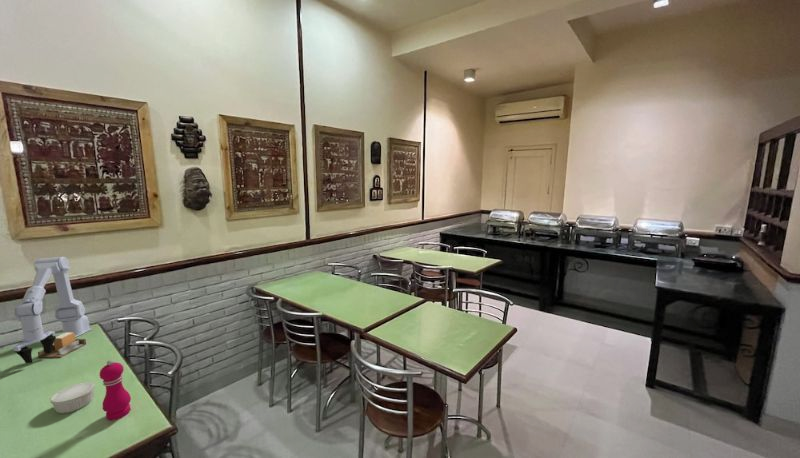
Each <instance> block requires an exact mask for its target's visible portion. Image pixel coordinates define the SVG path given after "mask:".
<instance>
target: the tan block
mask: <svg viewBox="0 0 800 458" xmlns="http://www.w3.org/2000/svg"><path fill="white" fill-rule="evenodd" d="M76 339H77V337H75V333H73V332H66V333H64V332H63V333H61V334H59V335H56V339H55V340H54V342H53V345H54V346H55V351H58V350H59V349H61V348H63V347H65V346H67V345H69V344H71V343H73V342H75V341H76Z"/></svg>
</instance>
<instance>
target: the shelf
mask: <svg viewBox="0 0 800 458" xmlns="http://www.w3.org/2000/svg"><path fill="white" fill-rule="evenodd" d="M85 345H87V340H86V338H76V341H75V342H73V343H71V344H69V345H67V346H65V347H63V348H61V349H59V350H58V351H55V346H54V344H53V345H52V350H51V353H45V352H44V349H42V350H39V351H37V355H38V358H39V359H46V358H47V359H50V358H51V359H55V358H57V359H58V358H59V359H60V358H62V357H64V356H67V355H69V354H71V353H72V352H74V351H77V350H78V349H80V348H82V347H84V346H85Z"/></svg>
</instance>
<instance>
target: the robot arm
mask: <svg viewBox="0 0 800 458" xmlns="http://www.w3.org/2000/svg"><path fill="white" fill-rule="evenodd" d="M33 267H34V271H35V276H34V278H33V279H34V280H33V283H32V286H31V287H28V288H27V289H26V292H25V294H24V296H23V299H22V301H21V303H19V304H18V305H16V306H15V308H14V313H13V314H14V316H15V317H16V318H17V320H18V322H20V324H21V325H20V326H21V330H22V335H23V341H21V342H20V343H18V344H16V345H14V346H13V347H12V349H13V352H14V353H15V354H17V355H19V357H20V358H21V359H22V360H23V361H24V363H26V364H32V363H33V357H32V353H33V347H30V346H31V345H34V344H37V343H38V342H40V344H41V345H42V348H43V349H44V352H45V353H51V350H52V345H54V340H55V339H56V337H57V335H56V331H55V330H49V331H46V332H45V331H44V328H43V323H42V322H43V321H42V318H41V313H42V312H43V308H44V307H43V304H44V303H43V299H44V296H45V294H46V292H47V291H46V289H45V286H46V285H47V282H48V280H49V279H50V277H51V275H52V276H53V279H54V284H55V287H56V292H57V296H58V301H59V303H58V304H57V305H56V306H54V317H55V319H56V320H59V322H61V326H62V331H63V334H64V333H66V332H73V333H75V338H78V337H80V336H82V335H83V334H86V333H88V332H89V331H91V330H92V328H90V327H91V326H90V321H89V317H88V316H87V315H86V314H85V313H86V308H85V306H84V304H83V302H82V301H81V300H78V299H75V298H74V293H73V290H72V286H71V281H70V277H69V274H68V273H69V272H68V271H69V270H70V269H71V267H70V263H69V259H68V257H65V256H56V257H44V258H41V257H40V258H37V259H35V261H34V264H33ZM55 335H56V336H55ZM43 349H42V350H43Z"/></svg>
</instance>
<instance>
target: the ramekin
mask: <svg viewBox="0 0 800 458" xmlns="http://www.w3.org/2000/svg"><path fill="white" fill-rule="evenodd" d="M95 386H96V385H95V383H94V382H90V381H86V382H80V383H79V382H78V383H75V384H71V385H70V386H67V387H64V388H62V389H60V390H59V391H57V392H56V393H54V394H53V395H52V396H51V397H50V398H49V399H50V400H49V401H50V403H51V404H52V407H53V408H54V411H56V413H59V414H69V413H72V412H76V411H78V410H81V409H83V408H85V407H86V406H87V405H89V404H90V403H91V402H92V401H93V399H94V397H95ZM88 403H89V404H88ZM85 405H86V406H85Z"/></svg>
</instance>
